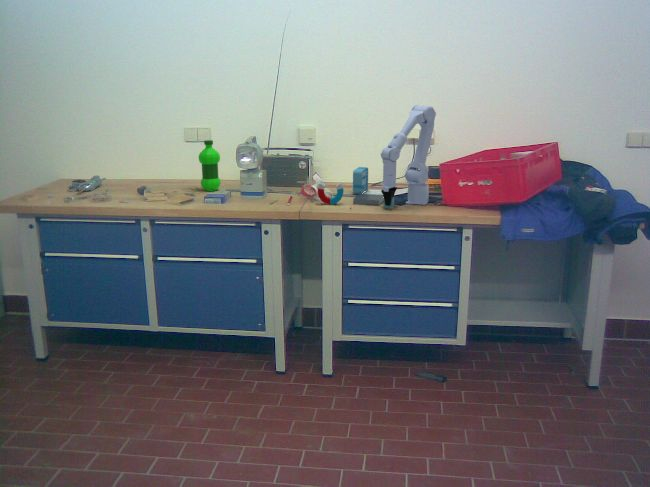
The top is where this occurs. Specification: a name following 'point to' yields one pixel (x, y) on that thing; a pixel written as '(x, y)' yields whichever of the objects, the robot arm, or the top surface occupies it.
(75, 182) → the grey irregular piece
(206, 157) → the plastic bottle
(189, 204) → the top surface
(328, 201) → the magnet
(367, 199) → the base block
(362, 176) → the data package
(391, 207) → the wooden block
